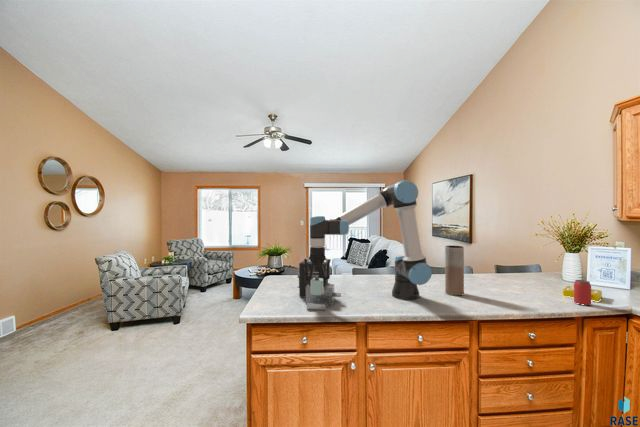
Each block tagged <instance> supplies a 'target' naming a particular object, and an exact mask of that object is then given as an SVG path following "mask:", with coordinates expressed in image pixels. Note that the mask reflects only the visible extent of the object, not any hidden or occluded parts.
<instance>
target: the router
mask: <svg viewBox="0 0 640 427" xmlns="http://www.w3.org/2000/svg"><path fill="white" fill-rule="evenodd" d="M298 265H299V267H298V270H299V271H298V272H299V273H298V274H297V277H296V278H298V286H297V287H296V288H298V289H299V291H298V292H299V294H298V295H299V296H298V297H303V298H304V297H305V298H306V286H307V285H308V284H309V280H308V279H307V278H305V262H304V260H303V261H301V262H299V264H298ZM311 266H312V262H311V261H310V260H309V262H308V276H309V274H310V270H311ZM323 267H324V271H325V275H326V277H327V263H326V261H324V262H323ZM316 276H318V277H319V278H323V277H322V273H321V269H320V265H315V267H314V271H313V275H312V278H311V279H313V278H315V277H316ZM326 284H331V283H329V279H327V280H326Z"/></svg>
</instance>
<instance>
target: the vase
mask: <svg viewBox="0 0 640 427" xmlns="http://www.w3.org/2000/svg"><path fill="white" fill-rule="evenodd" d="M444 248H445V249H444V252H445V254H444V255H445V256H444V262H445V264H444V265H445V266H444V274H445V275H444V276H445V277H444V282H445V283H444V284H445V287H444V288H445V289H444V290H445V294H447V293H448V294H447V295H449V294H453V295H452V296H454V295H461V296H463V295H462V294H464V295H465V279H464V277H465V267H464V266H465V248H464V246H462V245H445V246H444Z"/></svg>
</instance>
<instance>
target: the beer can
mask: <svg viewBox="0 0 640 427" xmlns="http://www.w3.org/2000/svg"><path fill="white" fill-rule="evenodd" d="M573 287H574V299H573V302H574V303H575V302H576V303H579V304H584V305H590V304H591V305H592V302H591V289H592V285H591V282H590V280H589V281H588V280H585V279H584V280H582V279H575V281H574V283H573ZM576 303H575V304H576ZM591 305H590V306H591Z"/></svg>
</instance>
